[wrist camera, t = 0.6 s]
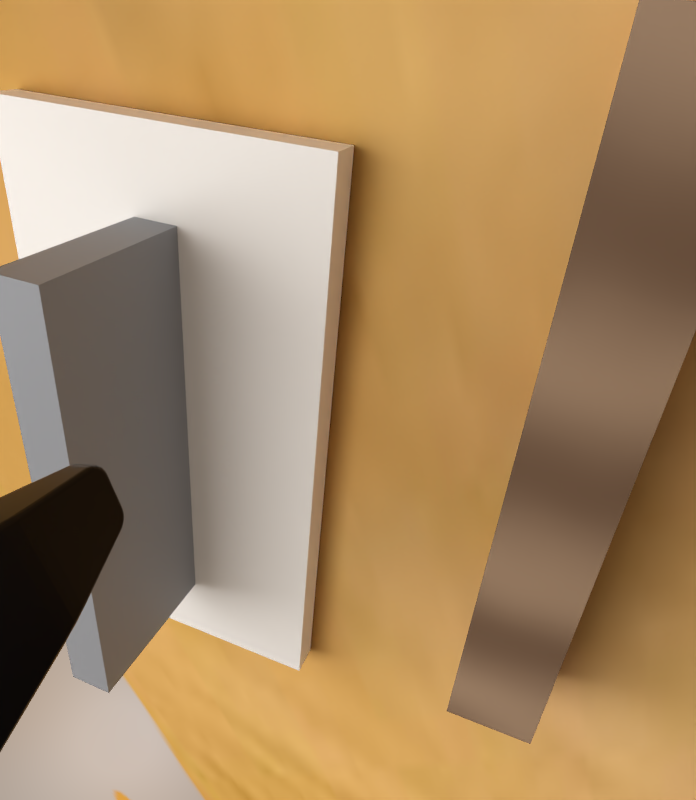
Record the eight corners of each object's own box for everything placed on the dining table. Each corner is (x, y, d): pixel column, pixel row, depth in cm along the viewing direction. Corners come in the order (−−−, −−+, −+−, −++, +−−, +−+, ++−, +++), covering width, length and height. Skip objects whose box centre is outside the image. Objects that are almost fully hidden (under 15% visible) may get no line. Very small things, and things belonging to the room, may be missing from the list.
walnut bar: (541, 664, 26) (530, 744, 23) (467, 637, 26) (446, 710, 23) (785, 15, 14) (823, 11, 11) (639, 2, 15) (640, -4, 12)
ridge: (310, 649, 30) (233, 795, 24) (94, 564, 33) (-18, 675, 27) (354, 145, 18) (227, 196, 13) (16, 89, 22) (-205, 110, 16)
